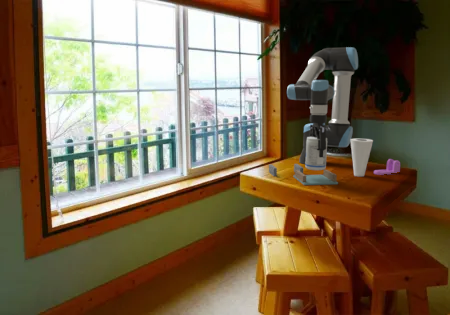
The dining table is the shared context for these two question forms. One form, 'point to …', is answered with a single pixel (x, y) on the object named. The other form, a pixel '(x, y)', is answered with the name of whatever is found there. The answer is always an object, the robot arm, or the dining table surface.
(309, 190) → the dining table surface
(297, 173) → the docking bay
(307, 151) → the supplement tub
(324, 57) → the robot arm
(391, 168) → the bracket
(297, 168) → the holder
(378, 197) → the dining table surface
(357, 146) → the cup
